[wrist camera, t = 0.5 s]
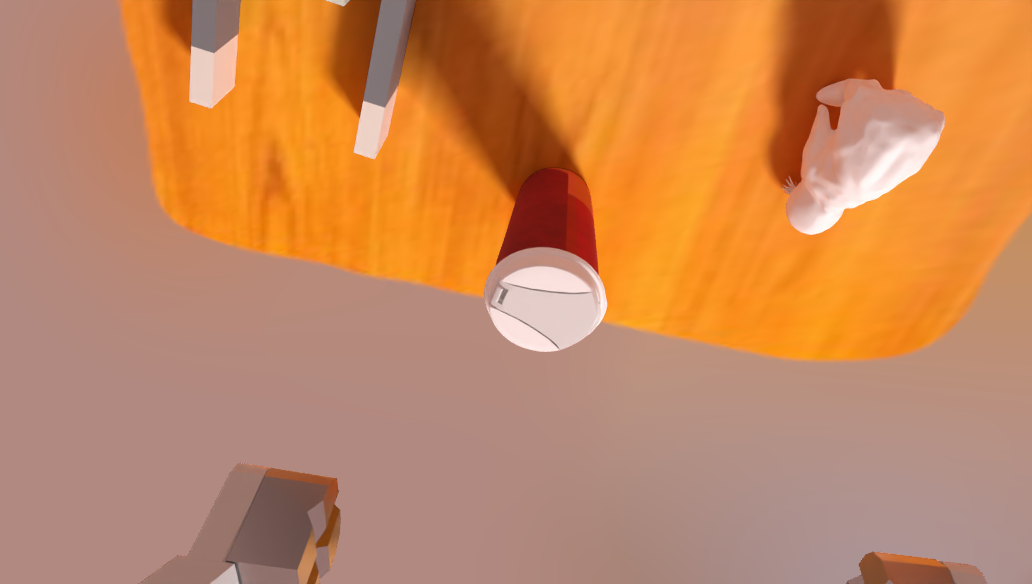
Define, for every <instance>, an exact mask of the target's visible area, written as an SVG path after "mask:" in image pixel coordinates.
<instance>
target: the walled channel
mask: <svg viewBox="0 0 1032 584" xmlns="http://www.w3.org/2000/svg"><path fill="white" fill-rule="evenodd" d="M415 3H416V0H381V6H380V11H379V17H378V22H377V28H376V33H375V39H374V44H373V50H372V55H371V61H370V66H369V72H368V77H367V83H366V88H365V93H364V99H363V104H362V110H361V115H360V121H359V126H358V132H357V137H356V143H355V148H354V153H356V154H359V155H363V156H366V157H369V158H372V159H375V157H376V156H377V154H378V152H379V150H380V148H381V147H382V145H383V143H384V141H385V139H386V137H387V136H388V132H389V127H390V122H391V117H392V113H393V108H394V103H395V98H396V94H397V89H398V84H399V79H400V75H401V70H402V65H403V60H404V56H405V51H406V46H407V41H408V37H409V32H410V27H411V22H412V18H413V13H414V8H415ZM239 15H240V0H193V4H192V37H191V70H190V102H192V103H196V104H199V105H202V106H205V107H209V108H212V107H213V106H214V105H216V104H217V103H218V102H219V101H220V100H221V99H222V98H223V97H224V96H225V95H226V94H227V93H228V92H229V91H231V90H232V89H233V88H234V87H235V73H236V58H237V44H238V29H239Z"/></svg>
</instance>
